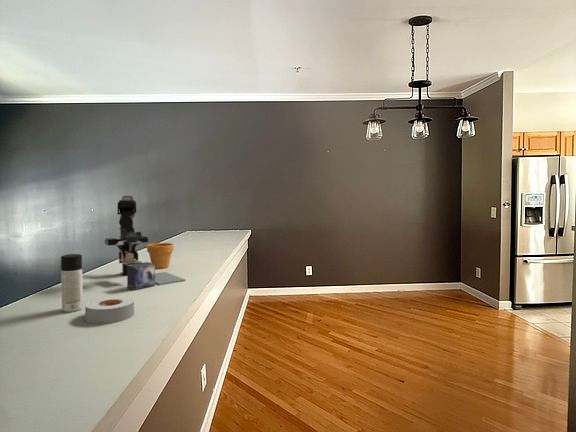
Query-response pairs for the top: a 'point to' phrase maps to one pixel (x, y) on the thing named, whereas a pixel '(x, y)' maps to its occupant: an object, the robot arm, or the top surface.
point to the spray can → (71, 282)
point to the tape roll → (109, 310)
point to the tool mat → (166, 278)
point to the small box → (140, 275)
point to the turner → (129, 259)
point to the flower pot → (160, 254)
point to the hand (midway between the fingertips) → (127, 258)
